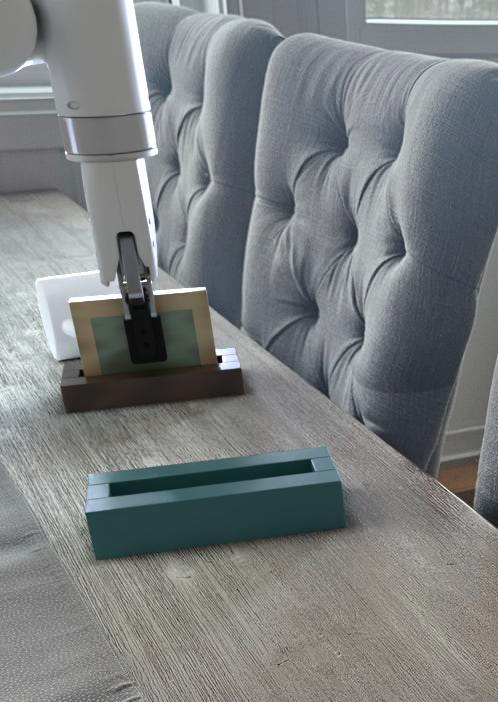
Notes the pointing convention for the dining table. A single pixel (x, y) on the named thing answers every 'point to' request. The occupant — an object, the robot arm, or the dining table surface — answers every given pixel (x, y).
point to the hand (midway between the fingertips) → (149, 353)
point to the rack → (151, 384)
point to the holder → (213, 502)
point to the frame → (111, 342)
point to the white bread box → (67, 307)
